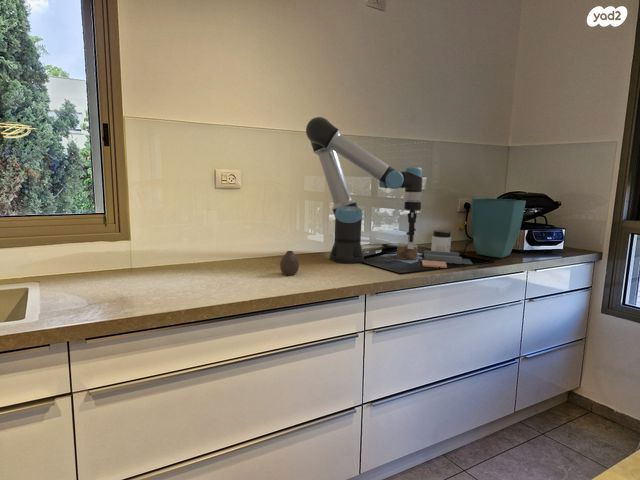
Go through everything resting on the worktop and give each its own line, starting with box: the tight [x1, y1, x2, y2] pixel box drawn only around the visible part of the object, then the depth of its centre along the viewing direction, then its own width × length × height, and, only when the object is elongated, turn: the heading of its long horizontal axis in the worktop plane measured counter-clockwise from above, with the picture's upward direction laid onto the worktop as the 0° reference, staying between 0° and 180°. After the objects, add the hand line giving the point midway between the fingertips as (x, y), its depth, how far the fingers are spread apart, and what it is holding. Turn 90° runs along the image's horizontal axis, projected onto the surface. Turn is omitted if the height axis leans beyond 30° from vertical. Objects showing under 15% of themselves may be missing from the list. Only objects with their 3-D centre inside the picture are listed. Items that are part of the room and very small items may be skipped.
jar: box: [430, 229, 452, 252], centre depth 205 cm, size 9×8×12 cm
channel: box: [423, 250, 463, 265], centre depth 193 cm, size 16×12×3 cm
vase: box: [279, 250, 300, 277], centre depth 154 cm, size 7×7×9 cm
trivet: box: [421, 259, 448, 269], centre depth 182 cm, size 10×10×1 cm
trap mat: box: [461, 258, 474, 266], centre depth 191 cm, size 5×12×1 cm, turn 167°
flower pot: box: [471, 197, 527, 259], centre depth 209 cm, size 20×20×28 cm
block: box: [396, 243, 419, 261], centre depth 196 cm, size 9×7×6 cm
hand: (410, 246), depth 195 cm, fingers open, 13 cm apart
